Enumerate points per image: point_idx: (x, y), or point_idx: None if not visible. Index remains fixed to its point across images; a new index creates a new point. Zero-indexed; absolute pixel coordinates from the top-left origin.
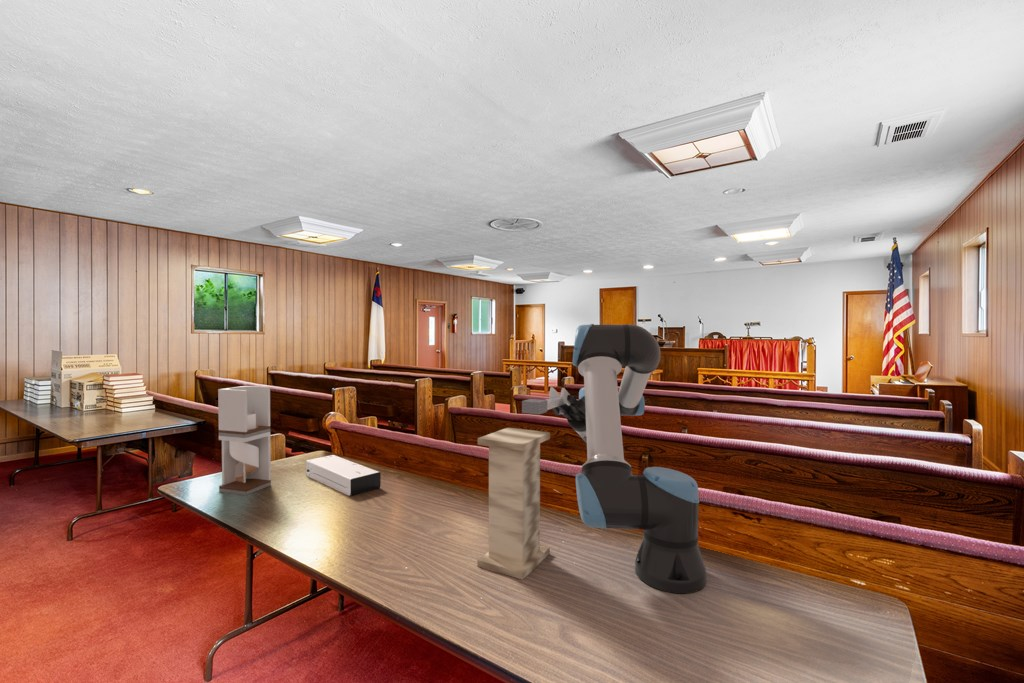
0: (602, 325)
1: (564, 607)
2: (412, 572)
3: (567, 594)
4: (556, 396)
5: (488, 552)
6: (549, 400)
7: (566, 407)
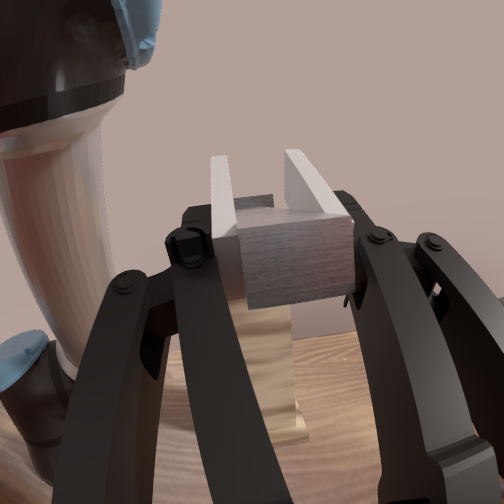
0: None
1: (174, 391)
2: (332, 359)
3: (177, 404)
4: (299, 210)
5: (295, 400)
6: (248, 210)
7: (396, 428)
